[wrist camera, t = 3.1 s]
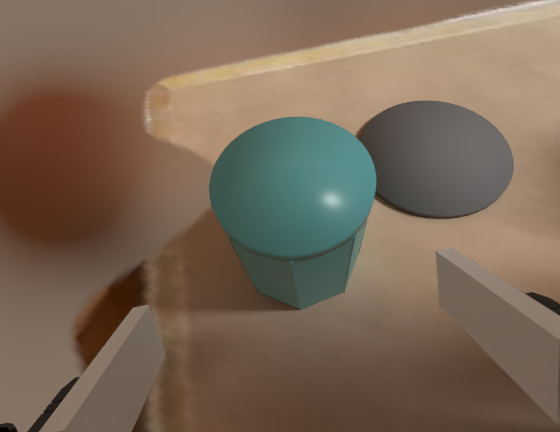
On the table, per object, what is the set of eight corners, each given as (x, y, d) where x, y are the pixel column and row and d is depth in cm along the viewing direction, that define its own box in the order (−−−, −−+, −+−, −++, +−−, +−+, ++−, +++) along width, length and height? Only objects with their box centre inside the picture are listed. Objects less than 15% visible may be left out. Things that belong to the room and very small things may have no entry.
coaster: (413, 86, 38) (414, 82, 37) (539, 150, 32) (543, 146, 31) (328, 160, 34) (328, 156, 33) (453, 248, 28) (456, 246, 28)
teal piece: (372, 223, 30) (396, 137, 21) (335, 328, 26) (342, 282, 16) (273, 191, 33) (254, 103, 23) (225, 281, 29) (178, 218, 19)
